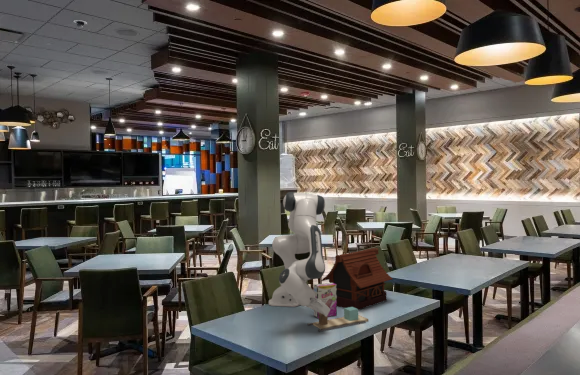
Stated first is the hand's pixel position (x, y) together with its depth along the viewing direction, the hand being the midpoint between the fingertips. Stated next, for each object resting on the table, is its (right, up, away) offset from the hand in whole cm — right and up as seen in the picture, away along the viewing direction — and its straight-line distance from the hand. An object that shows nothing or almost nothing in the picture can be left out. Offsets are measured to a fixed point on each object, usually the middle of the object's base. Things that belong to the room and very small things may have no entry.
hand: (324, 314), depth 215 cm
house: (+23, -5, +43) cm, 49 cm away
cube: (+14, -4, +7) cm, 16 cm away
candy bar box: (+2, -6, +17) cm, 18 cm away
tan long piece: (+9, -6, +4) cm, 11 cm away
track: (+6, -6, +3) cm, 9 cm away
